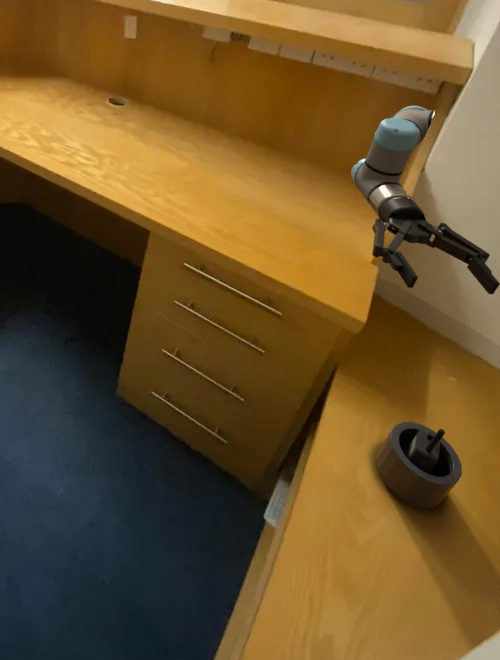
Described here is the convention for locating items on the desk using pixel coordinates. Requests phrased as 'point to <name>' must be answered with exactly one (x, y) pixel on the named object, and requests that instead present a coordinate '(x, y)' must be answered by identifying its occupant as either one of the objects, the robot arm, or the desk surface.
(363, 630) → the desk surface
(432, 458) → the walkie-talkie
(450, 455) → the gray ring cup
